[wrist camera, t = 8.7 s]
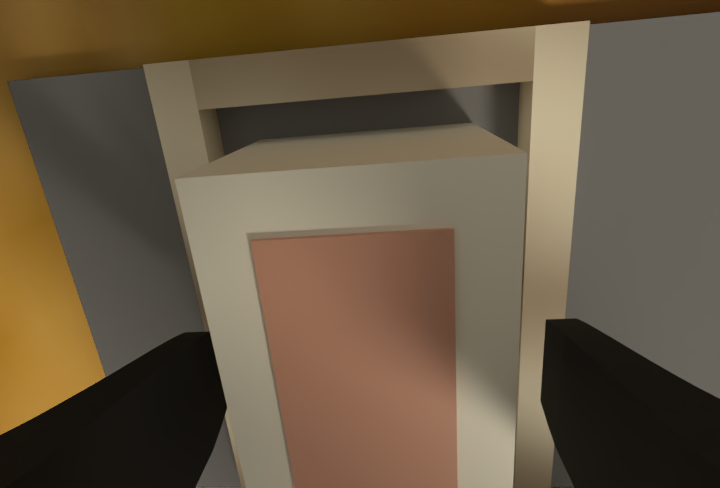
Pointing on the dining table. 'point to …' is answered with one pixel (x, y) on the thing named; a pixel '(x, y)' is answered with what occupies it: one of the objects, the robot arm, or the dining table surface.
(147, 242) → the mat
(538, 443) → the frame
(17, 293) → the dining table surface
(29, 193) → the dining table surface
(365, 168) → the card box
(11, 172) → the dining table surface
